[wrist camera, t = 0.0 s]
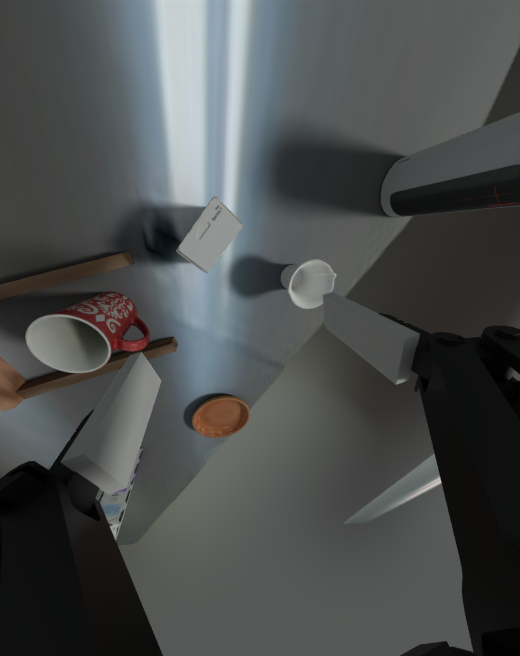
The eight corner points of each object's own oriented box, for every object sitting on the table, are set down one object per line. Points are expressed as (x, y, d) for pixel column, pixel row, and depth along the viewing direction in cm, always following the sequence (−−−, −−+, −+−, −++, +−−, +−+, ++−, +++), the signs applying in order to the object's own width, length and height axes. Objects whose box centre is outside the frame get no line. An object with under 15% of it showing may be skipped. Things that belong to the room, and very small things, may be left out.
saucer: (214, 436, 60) (214, 445, 57) (180, 410, 52) (178, 420, 49) (257, 411, 59) (259, 419, 57) (229, 381, 51) (230, 388, 49)
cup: (314, 286, 44) (339, 298, 36) (277, 300, 44) (294, 317, 35) (307, 247, 40) (335, 251, 31) (267, 262, 39) (283, 271, 31)
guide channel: (-80, 304, 30) (-129, 317, 25) (128, 251, 33) (116, 254, 28) (25, 391, 39) (3, 411, 35) (177, 343, 43) (174, 356, 38)
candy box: (120, 446, 52) (87, 527, 38) (144, 447, 54) (121, 523, 40) (113, 476, 57) (80, 558, 42) (135, 476, 59) (111, 554, 44)
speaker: (372, 180, 37) (626, 99, 14) (417, 140, 36) (773, -17, 13) (387, 228, 42) (593, 223, 20) (427, 194, 41) (696, 147, 18)
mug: (85, 325, 36) (26, 368, 25) (87, 280, 33) (20, 306, 22) (157, 338, 41) (136, 380, 29) (164, 300, 38) (144, 330, 26)
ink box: (207, 263, 37) (206, 275, 26) (184, 245, 34) (174, 251, 24) (234, 227, 35) (245, 224, 25) (212, 205, 33) (214, 193, 23)
